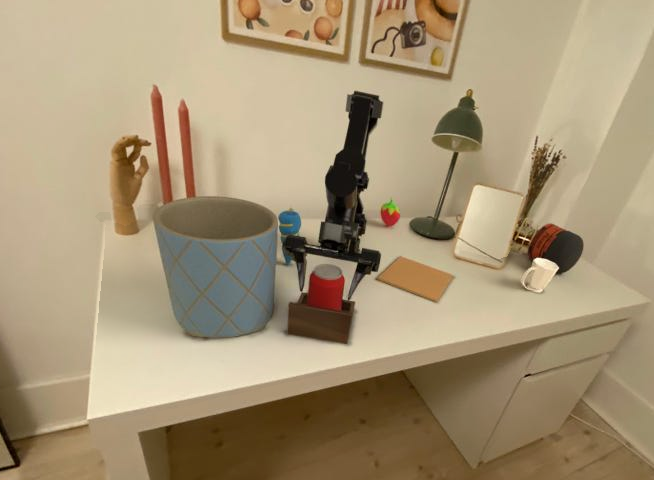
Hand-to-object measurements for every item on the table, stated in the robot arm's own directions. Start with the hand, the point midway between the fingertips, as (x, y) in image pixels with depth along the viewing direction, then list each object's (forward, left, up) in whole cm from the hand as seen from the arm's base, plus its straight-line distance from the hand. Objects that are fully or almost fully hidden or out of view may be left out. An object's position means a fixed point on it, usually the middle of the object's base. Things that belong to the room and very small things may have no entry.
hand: (324, 295), depth 72 cm
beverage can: (0, +1, -7) cm, 7 cm away
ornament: (-20, +15, -7) cm, 26 cm away
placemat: (+8, +33, -7) cm, 35 cm away
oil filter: (+39, +72, -7) cm, 82 cm away
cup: (+36, +52, -7) cm, 63 cm away
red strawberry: (-14, +58, -2) cm, 60 cm away
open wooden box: (0, +1, -7) cm, 7 cm away
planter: (-16, -9, -7) cm, 20 cm away
